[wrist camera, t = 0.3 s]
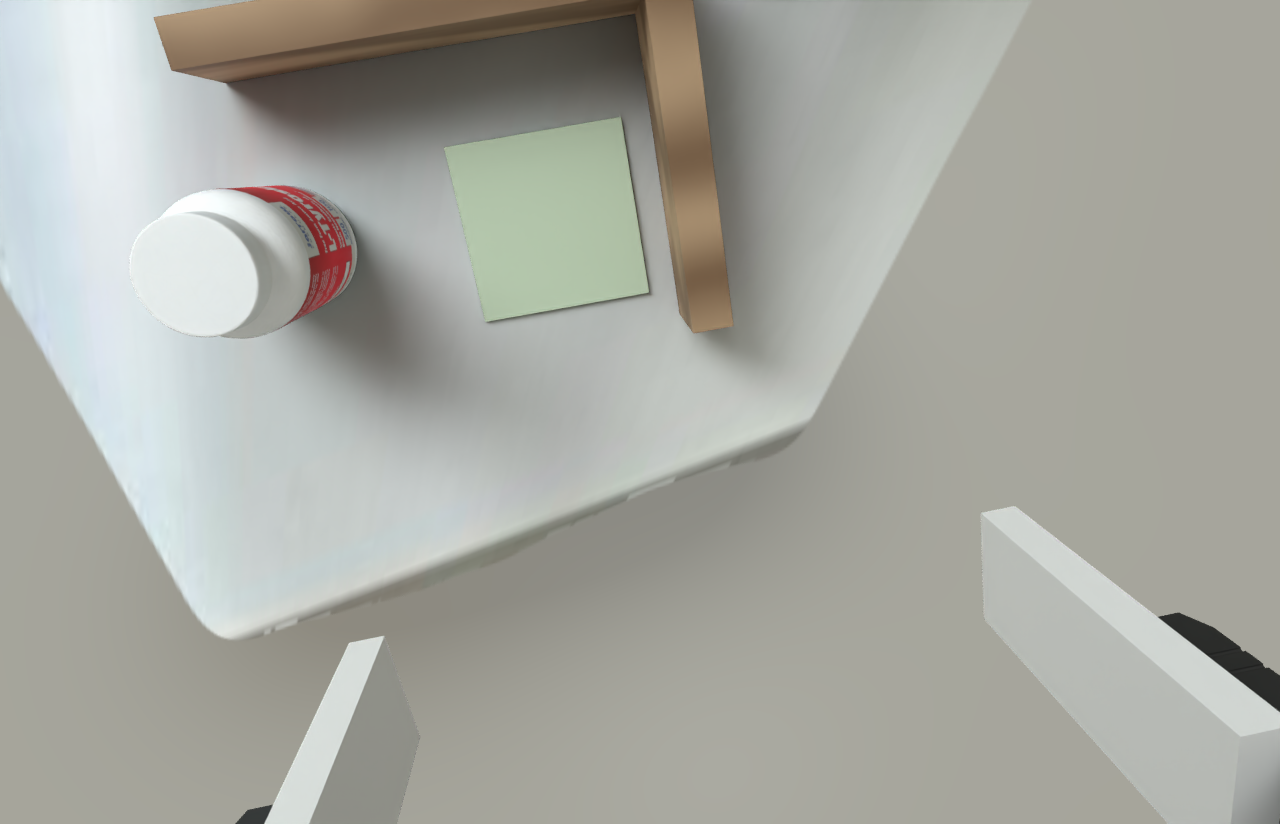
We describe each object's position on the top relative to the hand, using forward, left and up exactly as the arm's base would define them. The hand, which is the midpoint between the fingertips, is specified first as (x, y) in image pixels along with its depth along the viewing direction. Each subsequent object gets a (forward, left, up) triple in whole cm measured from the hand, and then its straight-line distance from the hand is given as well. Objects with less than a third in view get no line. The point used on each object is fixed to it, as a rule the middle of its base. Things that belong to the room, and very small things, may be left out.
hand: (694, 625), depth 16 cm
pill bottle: (-8, -16, -27) cm, 32 cm away
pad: (-7, -3, -26) cm, 28 cm away
